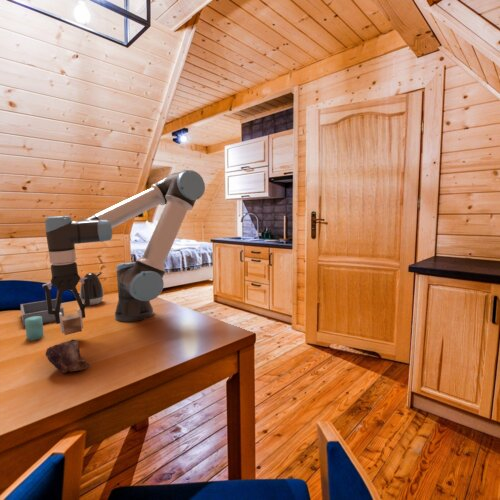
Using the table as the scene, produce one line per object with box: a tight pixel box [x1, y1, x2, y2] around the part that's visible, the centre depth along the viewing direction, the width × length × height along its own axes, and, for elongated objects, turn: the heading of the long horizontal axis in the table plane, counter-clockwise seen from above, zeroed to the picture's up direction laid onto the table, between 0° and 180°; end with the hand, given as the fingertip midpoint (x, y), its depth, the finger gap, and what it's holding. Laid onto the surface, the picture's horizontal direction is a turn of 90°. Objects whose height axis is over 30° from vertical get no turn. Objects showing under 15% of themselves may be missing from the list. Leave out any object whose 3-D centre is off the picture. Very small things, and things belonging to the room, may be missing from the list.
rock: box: [45, 339, 90, 374], centre depth 88 cm, size 12×9×10 cm
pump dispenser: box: [79, 272, 105, 306], centre depth 150 cm, size 10×10×15 cm
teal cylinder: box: [24, 316, 45, 341], centre depth 110 cm, size 5×5×7 cm
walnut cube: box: [62, 312, 83, 336], centre depth 107 cm, size 5×5×5 cm
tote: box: [19, 298, 65, 328], centre depth 131 cm, size 18×14×5 cm
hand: (72, 329), depth 107 cm, fingers closed on walnut cube, 5 cm apart
